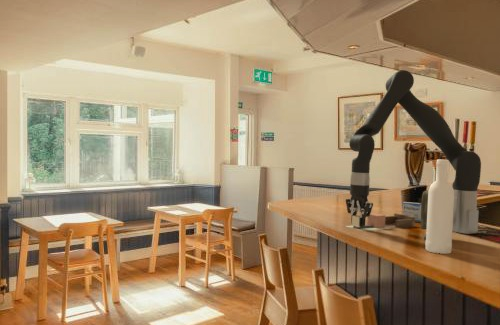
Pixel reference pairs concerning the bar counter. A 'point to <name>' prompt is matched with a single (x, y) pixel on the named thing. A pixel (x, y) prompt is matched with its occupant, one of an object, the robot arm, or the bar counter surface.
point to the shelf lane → (393, 222)
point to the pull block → (370, 221)
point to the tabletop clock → (424, 211)
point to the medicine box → (412, 210)
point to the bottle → (440, 211)
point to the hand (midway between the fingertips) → (357, 225)
